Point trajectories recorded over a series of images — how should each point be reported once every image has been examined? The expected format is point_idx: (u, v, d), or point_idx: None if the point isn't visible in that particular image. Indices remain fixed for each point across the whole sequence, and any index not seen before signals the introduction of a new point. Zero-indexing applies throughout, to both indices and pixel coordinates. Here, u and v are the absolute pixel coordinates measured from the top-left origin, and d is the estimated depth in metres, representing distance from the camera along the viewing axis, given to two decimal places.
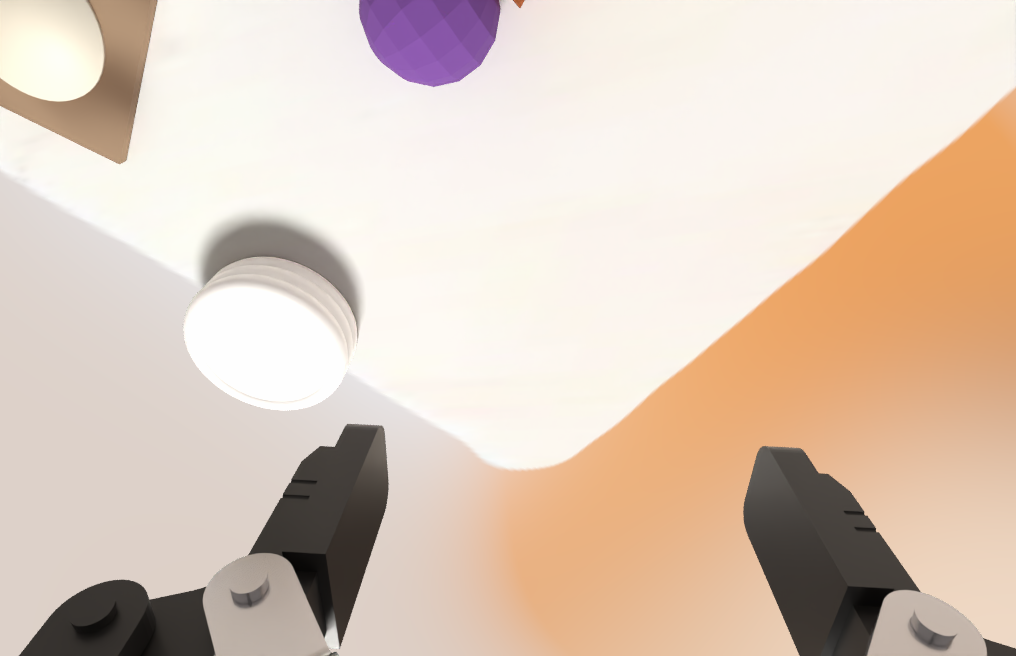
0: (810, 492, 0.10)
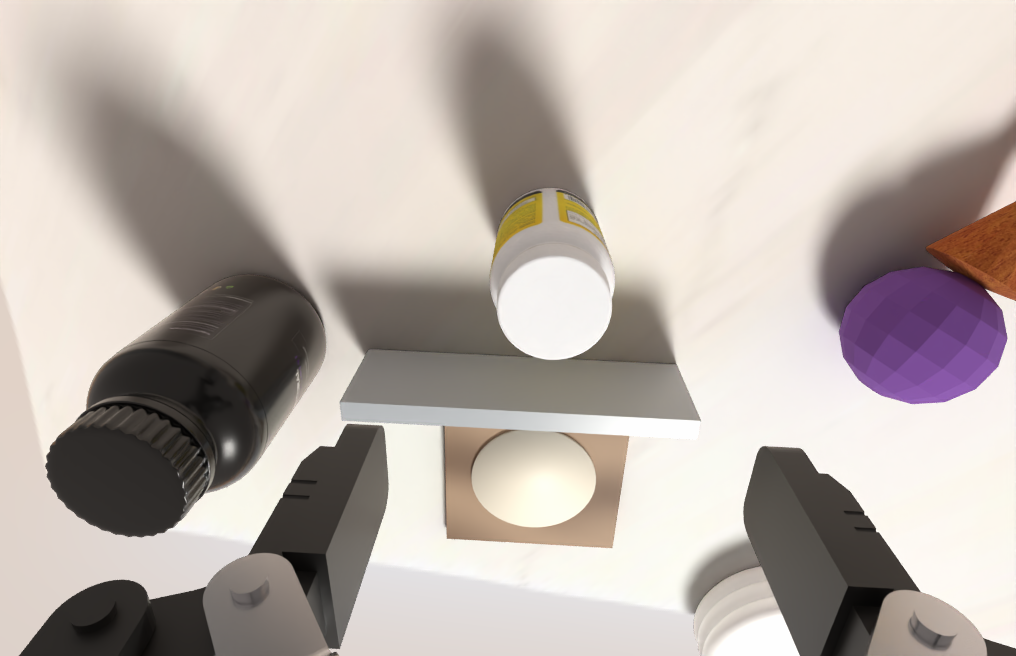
0: (810, 492, 0.10)
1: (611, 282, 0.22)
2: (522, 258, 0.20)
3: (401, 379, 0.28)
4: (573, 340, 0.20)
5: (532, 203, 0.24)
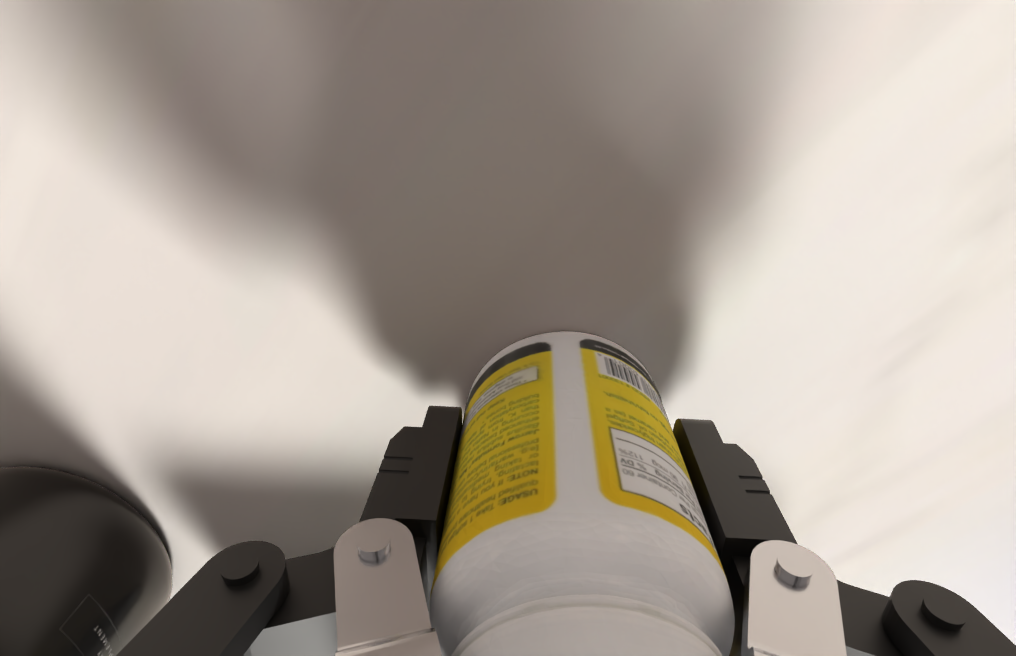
0: (711, 458, 0.11)
1: (729, 643, 0.09)
2: None
3: None
4: None
5: (531, 391, 0.11)
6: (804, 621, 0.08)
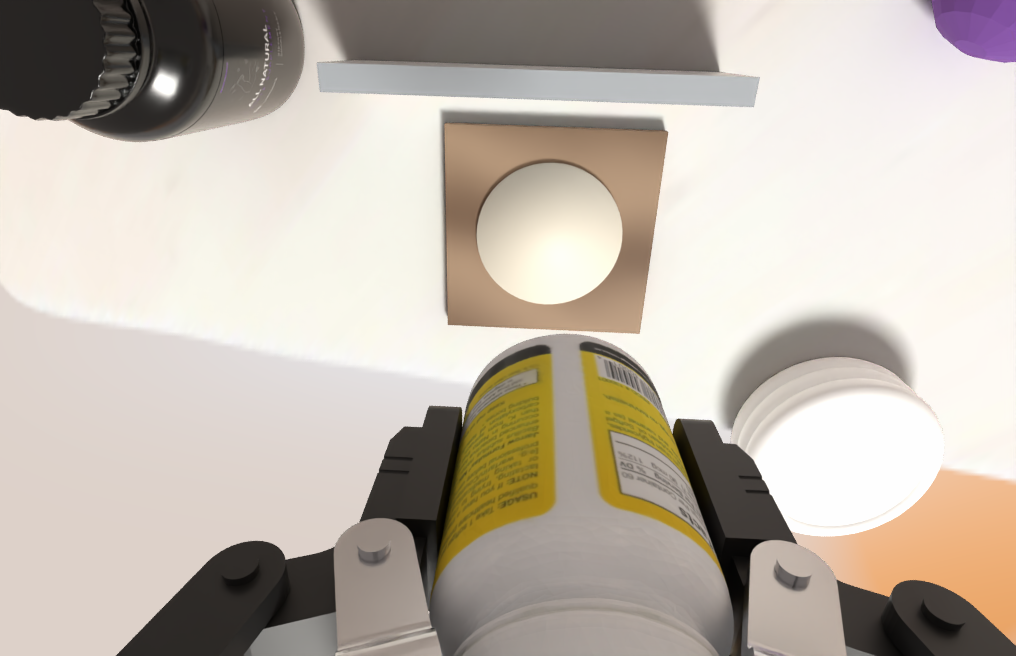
0: (710, 458, 0.11)
1: (728, 646, 0.09)
2: None
3: None
4: None
5: (531, 393, 0.11)
6: (804, 621, 0.08)
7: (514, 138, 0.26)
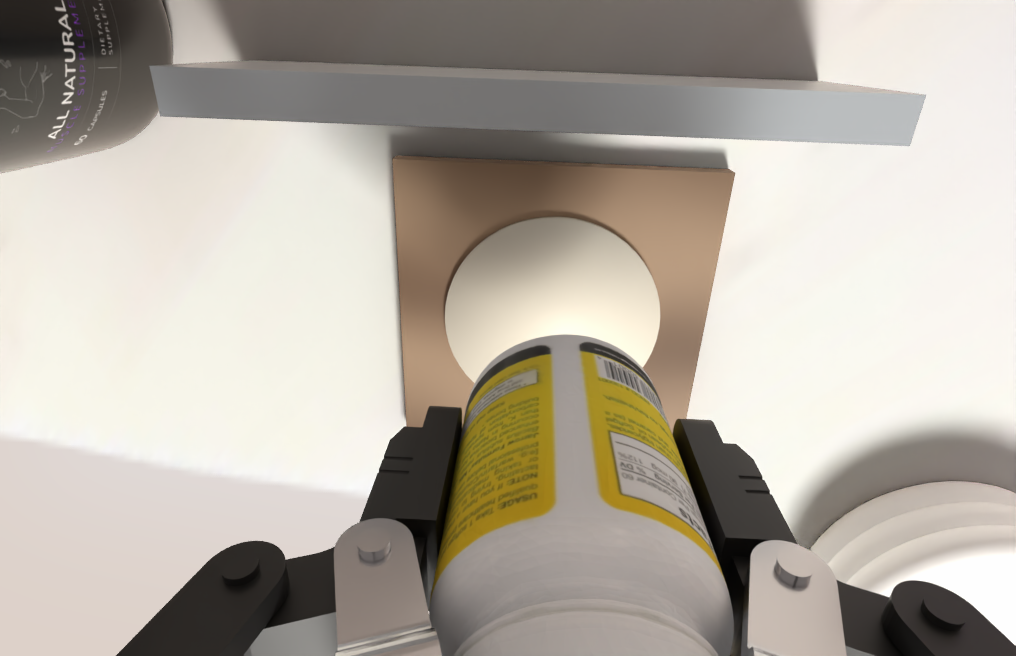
0: (710, 458, 0.11)
1: (728, 647, 0.09)
2: None
3: (297, 66, 0.14)
4: None
5: (531, 394, 0.11)
6: (804, 621, 0.08)
7: (499, 180, 0.17)
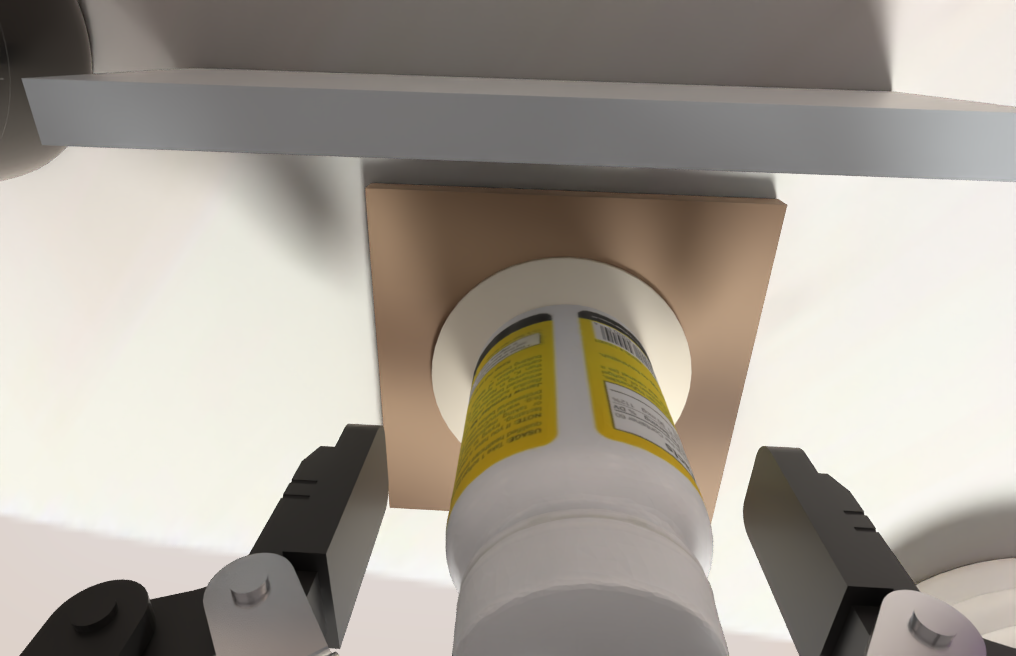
0: (810, 492, 0.10)
1: (708, 562, 0.10)
2: (512, 562, 0.08)
3: (233, 77, 0.11)
4: None
5: (535, 353, 0.12)
6: None
7: (496, 214, 0.14)
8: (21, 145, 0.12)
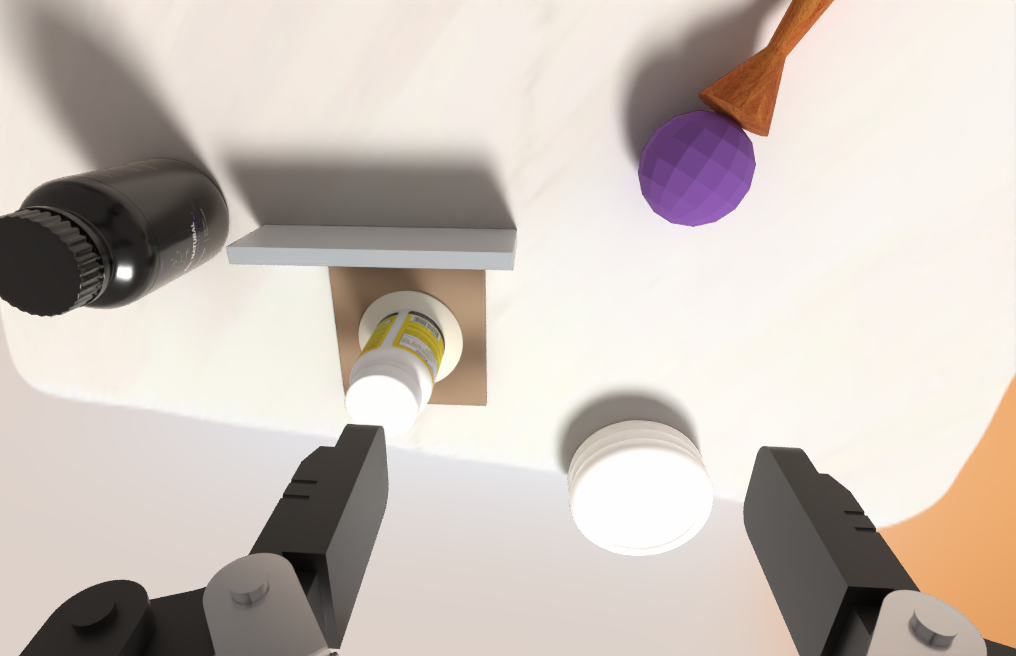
0: (810, 492, 0.10)
1: (426, 384, 0.33)
2: (359, 374, 0.31)
3: (282, 237, 0.34)
4: (396, 425, 0.32)
5: (386, 325, 0.36)
6: None
7: (378, 275, 0.37)
8: (208, 256, 0.36)
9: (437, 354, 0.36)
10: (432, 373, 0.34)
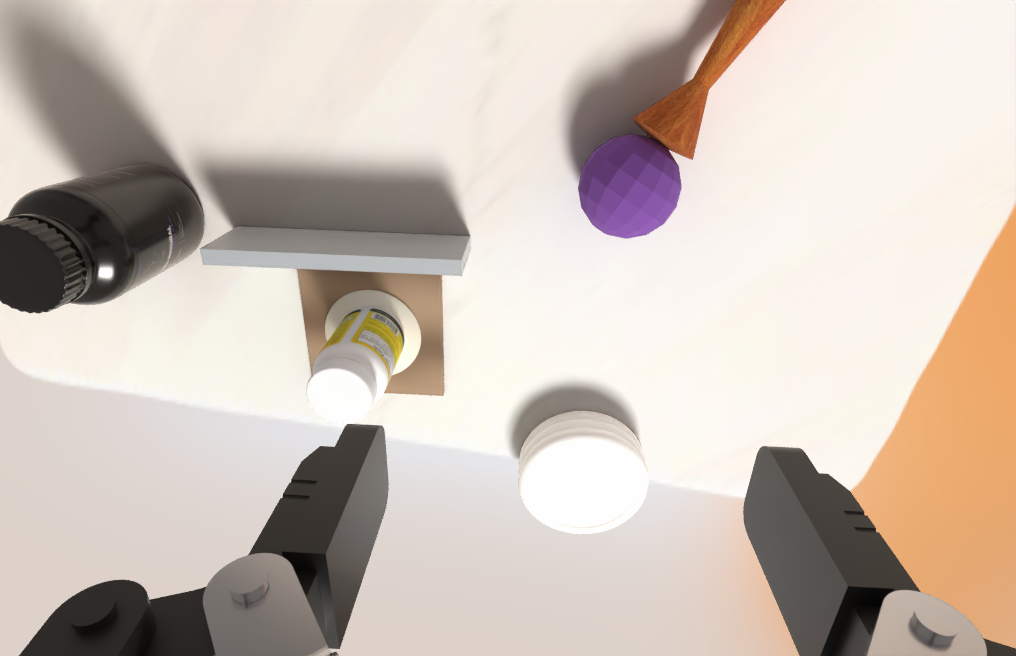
0: (810, 492, 0.10)
1: (382, 376, 0.36)
2: (319, 367, 0.35)
3: (253, 240, 0.37)
4: (352, 413, 0.35)
5: (348, 322, 0.39)
6: None
7: (342, 275, 0.41)
8: (184, 255, 0.39)
9: (394, 349, 0.39)
10: (388, 366, 0.37)
